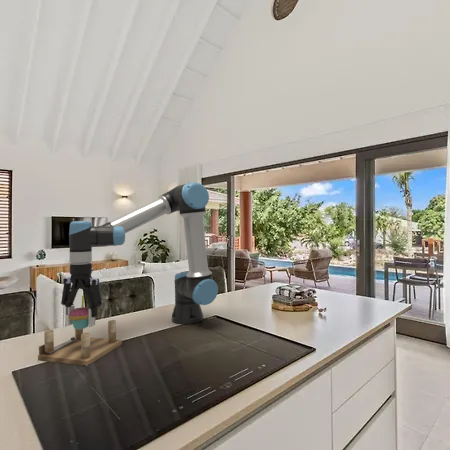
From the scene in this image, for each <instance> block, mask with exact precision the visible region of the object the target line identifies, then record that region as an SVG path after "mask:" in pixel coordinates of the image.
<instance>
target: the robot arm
mask: <svg viewBox="0 0 450 450" xmlns="http://www.w3.org/2000/svg"><path fill="white" fill-rule="evenodd" d="M209 200H210V195H209V191H208V189H207V188H206V186H204V184H201V182H194V181H193V182H192V181H191V182H187V183H185V184H180V185H177V186H175V187H173V188H172V189H170V190H168V191H167V192H165V193H163V194H160V195H159V196H158V198H157V199H155V200H153V201H151V202H148V203H146V204H144V205H142V206H140V207H138V208H136V209H134V210H132V211H129V212H127V213H125V214H122V215H120V216H119V217H116V218H114V219H112V220H110V221H108V222H106V223H103V224H100V225H98V226H93V225H92V222H91V221H90V220H89V221H88V220H87V221H85V220H83V221H80V220H78V221H76V220H73V221H71V222H70V224H69V232H68V238H69V239H68V241H69V244H68V245H69V263H70V264H69V274H70V277H66V278H63V279H62V282H63V289H62V296H61V302H60V304H61V306H65V311H66V313H65V315H66V316H67V325H68V326H71V325H73V324H72V322H71V320H69V318H68V317H69V314H70V312H71V311H73V310H74V309H76V308H75V306H76V305H75V304H74V302H75V300H76V299H75V298H76V297H77V294H78V292H79V290H82V291H83V292H84V296H85V297H86V299H87V303H88V304H89V307H88V308H89V325H88V327H89V328H92V327H94V326H96V317H97V315H98V313H97V311H98V307H100V306H102V303H103V301H102V298H101V292H100V291H101V289H100V279H99V278H94V277H92V274H93V264H92V263H91V262H93V258H92V257H93V253H92V250H93V247H113V246H114V247H116V246H122V245H124V244H125V241H126V234H127V233H130V232H132V231H134V230H135V229H137V228H139V227H141V226H143V225H145V224H148V223H150V222H151V221H154V220H156V219H157V218H159V217H162V216H164V215H171V214H173V213H175V212H179V215H180V216H181V217H182V218H183V224H184V225H183V227H184V233H185V236H184V237H185V244H186V252H187V262H188V263H187V264H188V271H186V272H179V273H176V274H175V275H174V307H173V311H172V313H171V322H172V323H174V324H180V325H190V324H191V325H192V324H197V323H200V322H202V321H203V319H204V314H203V311H202V307H201V306H206V305H210V304H212V303H213V302H214V301H215V299H216V298H217V296H218V293H219V286H218V283H217V282H216V280H213V272H212V271H211V270H210V269H209V265H208V256H207V255H208V254H207V245H206V234H205V227H204V226H205V225H204V215H205V214H206V213H207V210H206V206H207V205H208V203H209Z"/></svg>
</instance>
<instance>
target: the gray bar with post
mask: <svg viewBox="0 0 450 450" xmlns="http://www.w3.org/2000/svg"><path fill="white" fill-rule="evenodd" d="M54 334H55V333H54V329H47V330H44V336H43V337H44V344H45V352H46V353H52V352H54V351H56V350H58V349H60V348H63V347H65V346H67V345H69V344H71V343H73V342H75V341H77V339H75V336H72V337H70V339H68V340H66V341H64V342H62V343H60V344H58V345H56V346H54V345H55V343H54V342H55V340H54V336H55V335H54Z"/></svg>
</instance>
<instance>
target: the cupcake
mask: <svg viewBox="0 0 450 450" xmlns="http://www.w3.org/2000/svg"><path fill="white" fill-rule="evenodd" d="M84 302H85V292H84V293H82V296H81V307H76V308H75V309H74V310H73V311H71V312H70V314H69V317H68V316H67V319H68V318H69V320H71V322H72V324H71V325H72V326H73V328H74V330H75V329H83V330H84V329H87V328H88V327H89V308H90V307H84V305H85V304H84Z"/></svg>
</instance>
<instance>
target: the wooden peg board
mask: <svg viewBox="0 0 450 450" xmlns="http://www.w3.org/2000/svg"><path fill="white" fill-rule="evenodd" d="M116 328H117V321H116V319H112V320H108V321H107V332H108V333H107V335H108V336H107V337H108V338H103V337H102V338H101V337H94V336H93V337H91V333H90V332H84V328H83V329H75V328H74V337H75V339H77V341H75V342H73V343H71V344H69V345H67V346H65V347H63V348H60V349H58V350H56V351H54V352H52V353H46V352H45V343H44V344H42V345H40V346H38V355H37V361H41V362H50V363H59V364H68V365H77V366H83V365H85V367H88V366H90V365H92V364H93V363H94V362H95V361H97V360H99V359H101V358H102V357H104V356H105V355H107V354H108V353H110V352H112V351H113V350H115V349H117V348H119V347H120V346H121V345H122V344H123V341H122V339H117V329H116ZM89 364H90V365H89Z"/></svg>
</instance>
